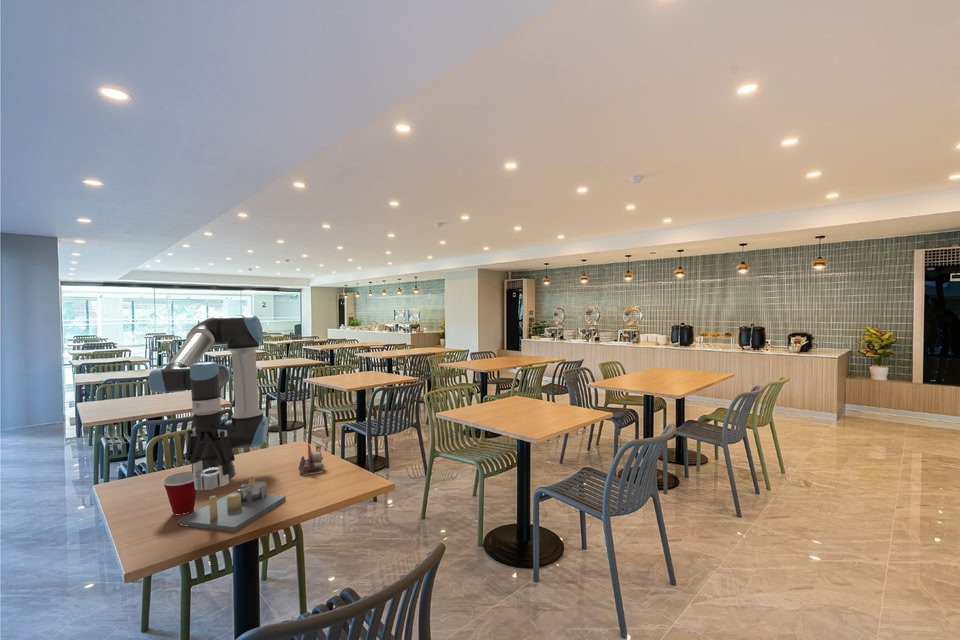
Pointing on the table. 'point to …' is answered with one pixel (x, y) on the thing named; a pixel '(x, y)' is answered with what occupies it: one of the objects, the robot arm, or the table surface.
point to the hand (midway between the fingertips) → (211, 483)
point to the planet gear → (207, 479)
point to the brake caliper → (311, 461)
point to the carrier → (231, 511)
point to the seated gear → (252, 492)
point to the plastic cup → (180, 491)
